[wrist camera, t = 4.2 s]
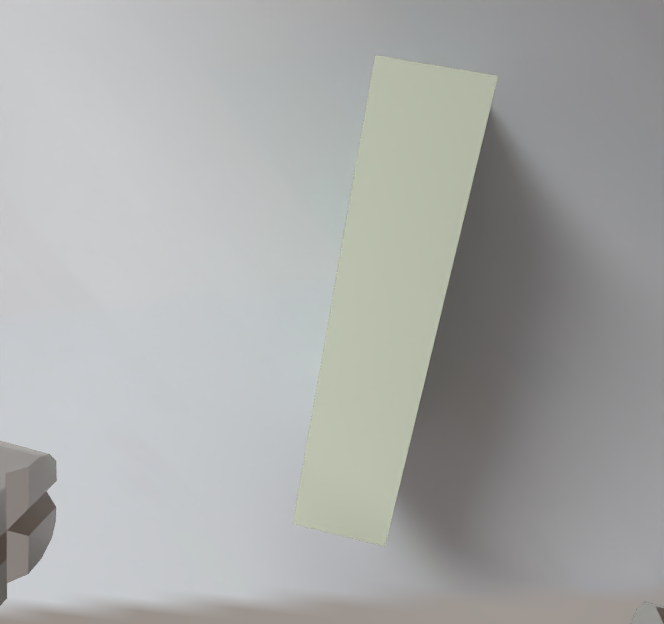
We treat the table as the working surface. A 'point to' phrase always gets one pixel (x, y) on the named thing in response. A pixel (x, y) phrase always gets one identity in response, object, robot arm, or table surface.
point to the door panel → (390, 289)
